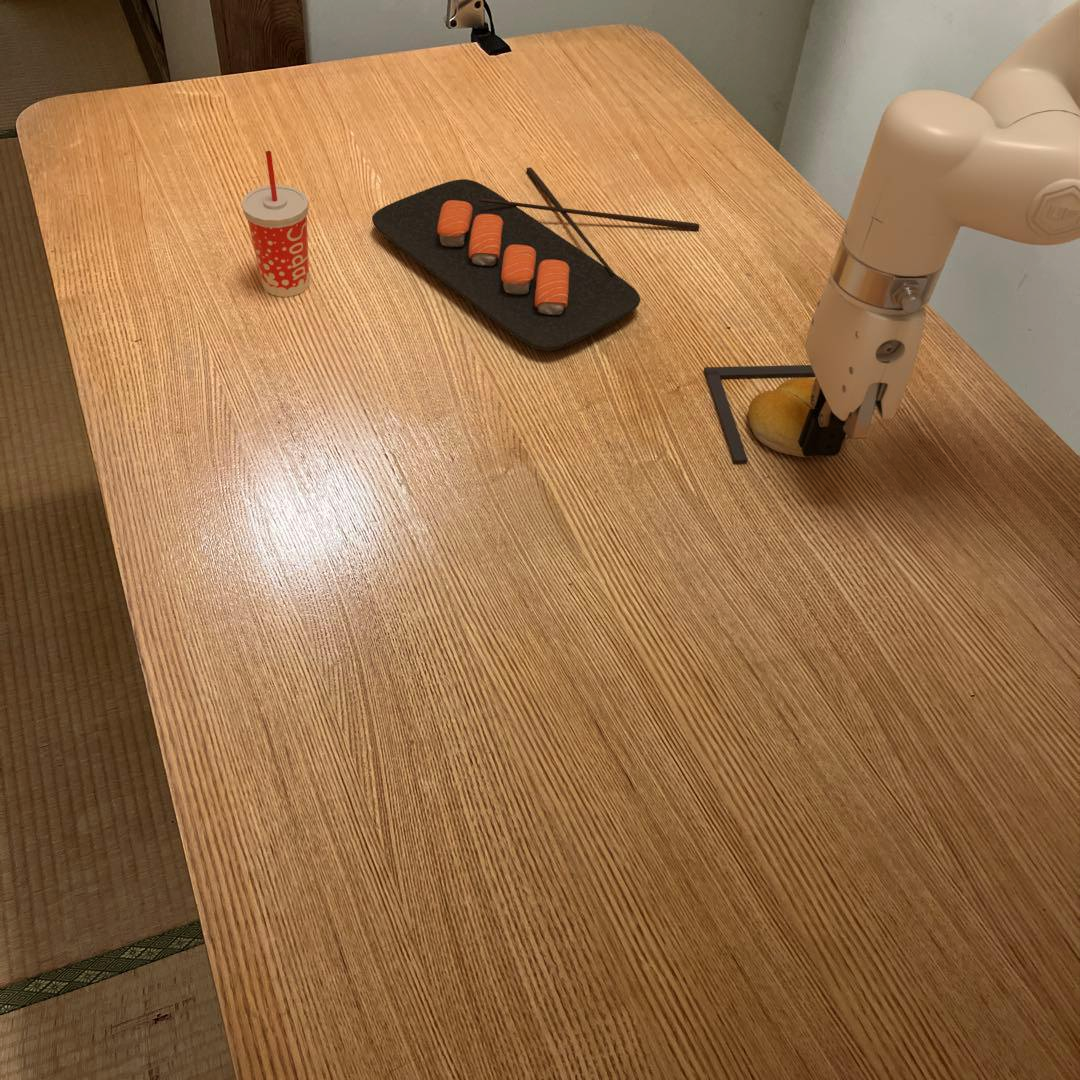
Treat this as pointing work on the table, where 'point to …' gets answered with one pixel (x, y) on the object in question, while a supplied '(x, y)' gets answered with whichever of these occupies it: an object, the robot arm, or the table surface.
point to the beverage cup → (279, 235)
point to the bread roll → (782, 415)
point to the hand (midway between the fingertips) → (817, 449)
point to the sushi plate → (512, 260)
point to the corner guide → (721, 401)
